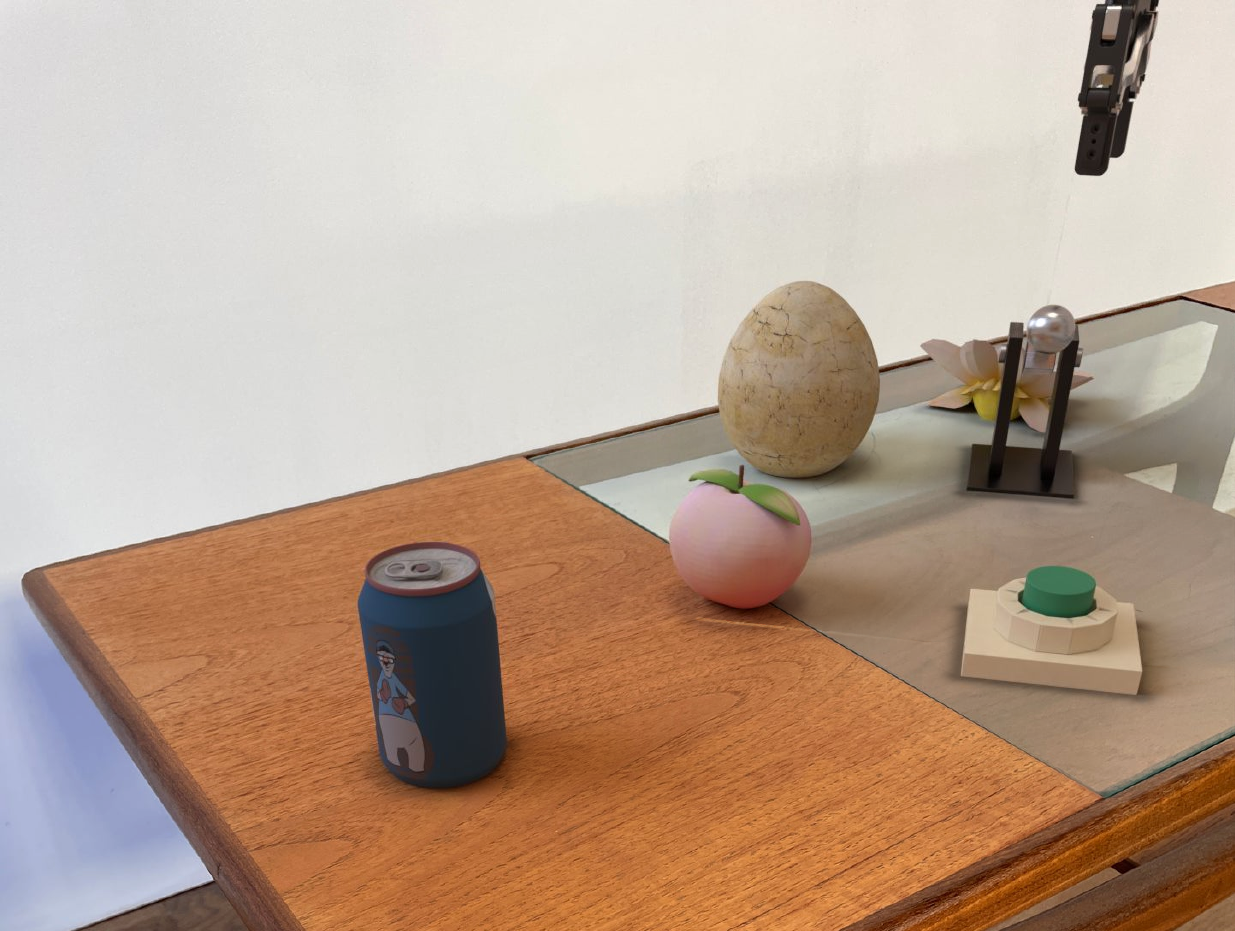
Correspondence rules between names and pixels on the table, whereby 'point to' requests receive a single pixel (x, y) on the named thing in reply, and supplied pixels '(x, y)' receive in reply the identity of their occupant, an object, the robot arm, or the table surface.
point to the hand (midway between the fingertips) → (1099, 165)
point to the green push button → (1059, 592)
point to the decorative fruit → (739, 539)
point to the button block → (1051, 643)
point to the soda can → (433, 664)
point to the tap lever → (1047, 338)
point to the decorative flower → (993, 382)
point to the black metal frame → (1022, 465)
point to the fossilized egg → (799, 382)
